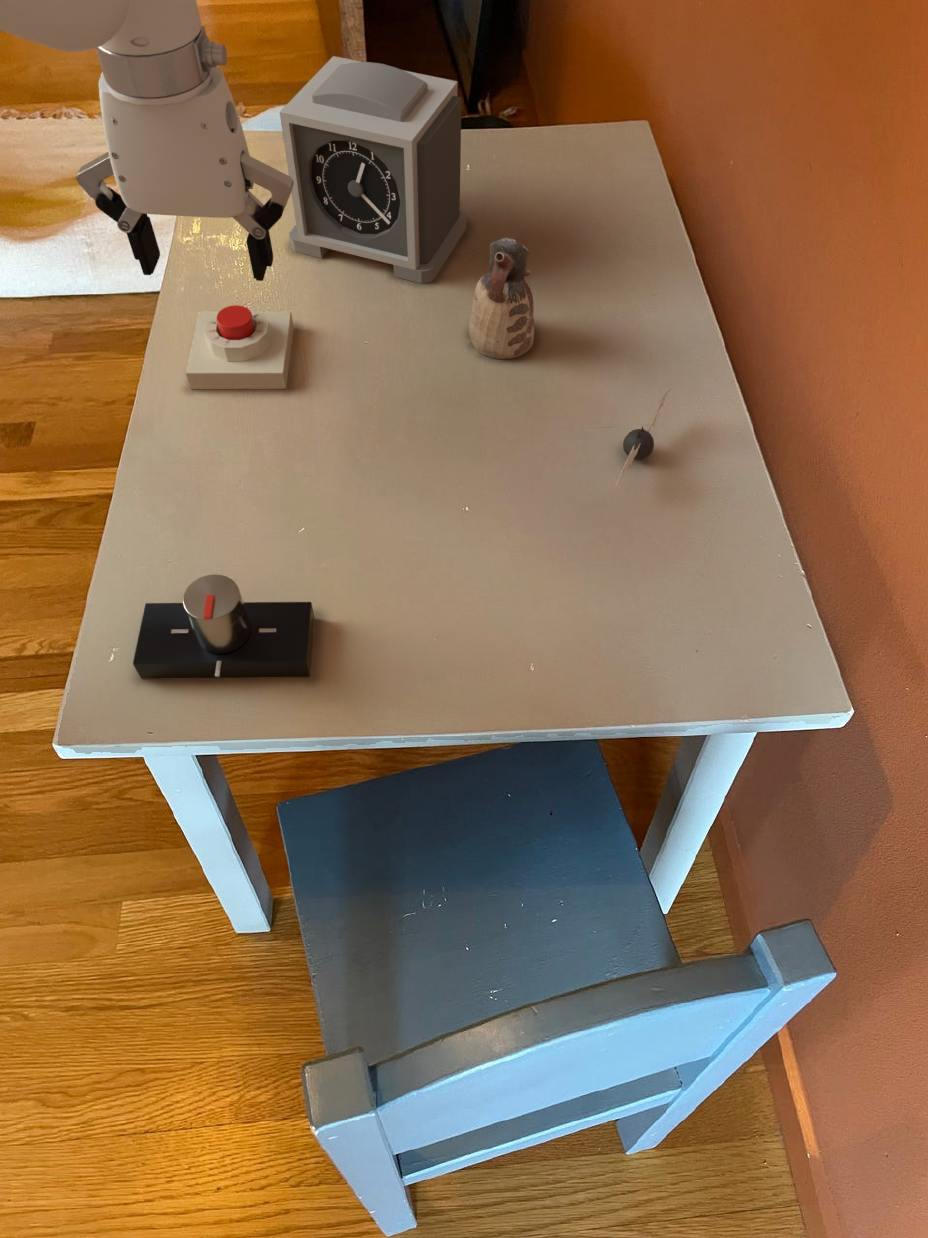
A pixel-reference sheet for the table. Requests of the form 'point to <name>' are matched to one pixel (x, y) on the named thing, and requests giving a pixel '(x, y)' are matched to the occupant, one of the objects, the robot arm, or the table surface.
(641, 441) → the bat toy
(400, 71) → the alarm clock
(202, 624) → the knob
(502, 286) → the figurine
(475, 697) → the table surface
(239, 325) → the power button
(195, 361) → the switch box
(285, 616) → the panel
